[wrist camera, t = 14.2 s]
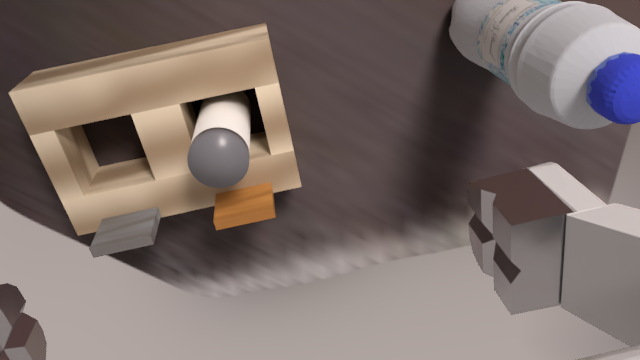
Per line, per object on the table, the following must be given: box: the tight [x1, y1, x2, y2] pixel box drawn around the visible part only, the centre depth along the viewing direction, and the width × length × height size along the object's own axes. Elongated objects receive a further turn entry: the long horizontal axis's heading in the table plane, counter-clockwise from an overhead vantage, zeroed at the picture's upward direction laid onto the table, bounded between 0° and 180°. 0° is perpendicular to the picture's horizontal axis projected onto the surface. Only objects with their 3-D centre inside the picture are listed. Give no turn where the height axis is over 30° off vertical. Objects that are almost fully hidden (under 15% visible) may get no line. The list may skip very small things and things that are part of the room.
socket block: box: [8, 23, 302, 257], centre depth 40 cm, size 12×18×9 cm, turn 100°
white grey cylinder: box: [187, 91, 251, 188], centre depth 39 cm, size 4×4×10 cm
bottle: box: [449, 0, 640, 129], centre depth 34 cm, size 7×7×20 cm
